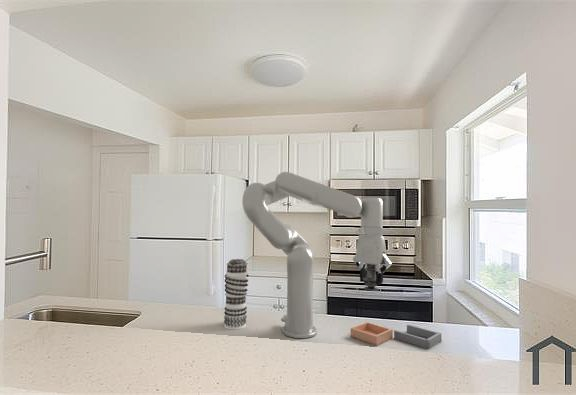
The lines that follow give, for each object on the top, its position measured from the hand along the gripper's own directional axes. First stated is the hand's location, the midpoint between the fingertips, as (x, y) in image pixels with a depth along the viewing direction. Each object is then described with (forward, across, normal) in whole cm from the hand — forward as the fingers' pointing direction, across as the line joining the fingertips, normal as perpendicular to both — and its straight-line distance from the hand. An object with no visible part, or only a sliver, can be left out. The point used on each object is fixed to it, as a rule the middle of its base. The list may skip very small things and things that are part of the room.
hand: (371, 282), depth 111 cm
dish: (+19, 0, 0) cm, 19 cm away
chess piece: (+3, 0, 0) cm, 3 cm away
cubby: (+19, +11, +11) cm, 25 cm away
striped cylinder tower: (+20, -41, -30) cm, 54 cm away
